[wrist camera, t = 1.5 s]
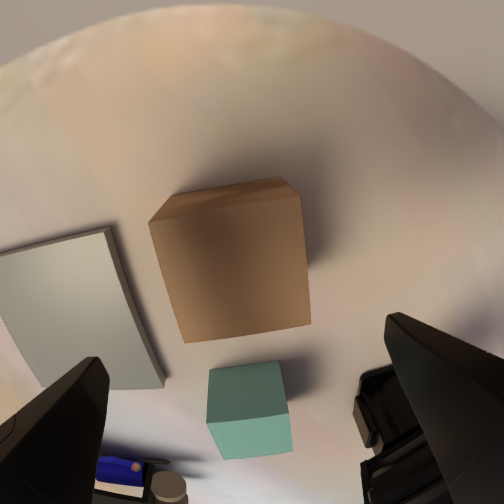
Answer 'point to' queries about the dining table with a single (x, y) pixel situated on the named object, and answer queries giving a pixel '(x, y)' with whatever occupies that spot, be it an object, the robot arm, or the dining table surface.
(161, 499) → the figurine character
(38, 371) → the base plate
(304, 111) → the dining table surface
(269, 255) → the walnut block
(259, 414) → the teal block
